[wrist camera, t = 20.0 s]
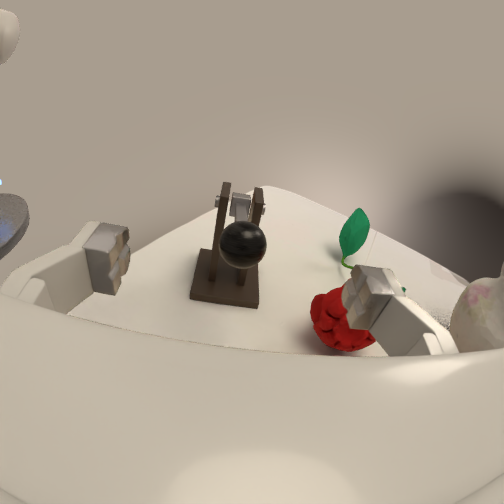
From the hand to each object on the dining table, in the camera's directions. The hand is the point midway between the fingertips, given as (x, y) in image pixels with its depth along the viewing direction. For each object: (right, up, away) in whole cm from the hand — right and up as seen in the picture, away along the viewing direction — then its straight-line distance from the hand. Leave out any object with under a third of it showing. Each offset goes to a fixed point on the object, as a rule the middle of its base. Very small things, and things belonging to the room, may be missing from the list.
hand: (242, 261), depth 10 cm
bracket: (-3, -4, +32) cm, 32 cm away
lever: (-1, +2, +19) cm, 19 cm away
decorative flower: (+17, -7, +34) cm, 39 cm away
